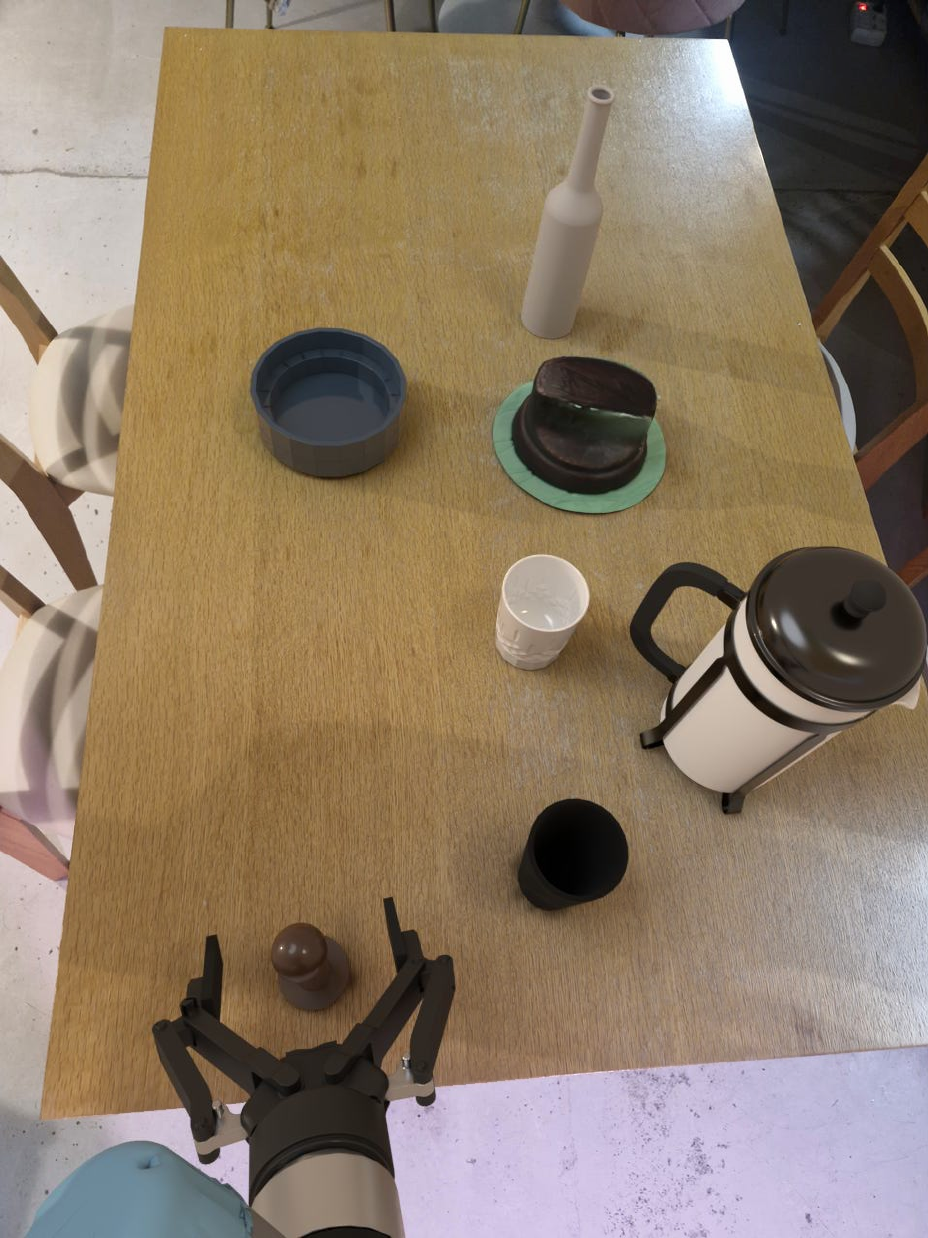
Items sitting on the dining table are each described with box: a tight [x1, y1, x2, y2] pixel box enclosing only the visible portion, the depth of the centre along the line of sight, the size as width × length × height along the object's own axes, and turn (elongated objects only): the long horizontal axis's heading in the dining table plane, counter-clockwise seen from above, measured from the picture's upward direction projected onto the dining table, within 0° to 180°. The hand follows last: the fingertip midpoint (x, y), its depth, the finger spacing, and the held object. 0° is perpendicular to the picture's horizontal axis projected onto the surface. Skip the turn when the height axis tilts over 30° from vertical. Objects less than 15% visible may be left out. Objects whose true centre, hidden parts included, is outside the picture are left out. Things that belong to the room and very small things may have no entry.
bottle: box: [520, 84, 617, 340], centre depth 93 cm, size 7×7×28 cm
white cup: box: [494, 553, 590, 672], centre depth 80 cm, size 8×8×10 cm
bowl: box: [249, 326, 407, 478], centre depth 92 cm, size 16×16×6 cm
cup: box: [517, 797, 630, 912], centre depth 69 cm, size 8×8×12 cm
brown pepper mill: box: [270, 922, 351, 1012], centre depth 61 cm, size 6×6×18 cm
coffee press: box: [629, 545, 928, 816], centre depth 69 cm, size 17×16×30 cm
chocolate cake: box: [492, 355, 667, 514], centre depth 94 cm, size 15×19×20 cm
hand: (304, 930), depth 63 cm, fingers open, 12 cm apart
